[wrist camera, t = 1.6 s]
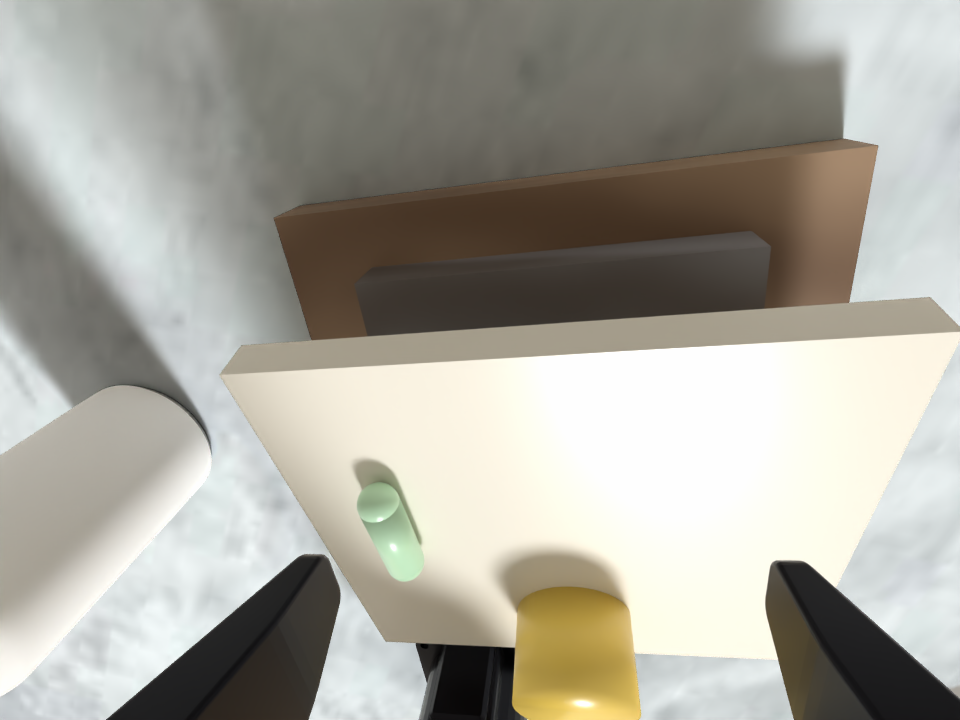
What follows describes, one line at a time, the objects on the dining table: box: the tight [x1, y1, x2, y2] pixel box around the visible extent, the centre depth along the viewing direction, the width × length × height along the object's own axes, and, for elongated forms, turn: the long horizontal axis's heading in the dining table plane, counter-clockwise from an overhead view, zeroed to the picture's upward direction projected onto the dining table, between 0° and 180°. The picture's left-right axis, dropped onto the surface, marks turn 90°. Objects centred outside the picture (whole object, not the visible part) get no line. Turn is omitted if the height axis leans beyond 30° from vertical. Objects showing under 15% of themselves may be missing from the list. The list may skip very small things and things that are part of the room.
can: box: [0, 385, 212, 696], centre depth 21 cm, size 6×6×12 cm
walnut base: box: [274, 139, 878, 340], centre depth 20 cm, size 18×18×4 cm
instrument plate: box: [220, 297, 960, 720], centre depth 15 cm, size 15×16×4 cm
